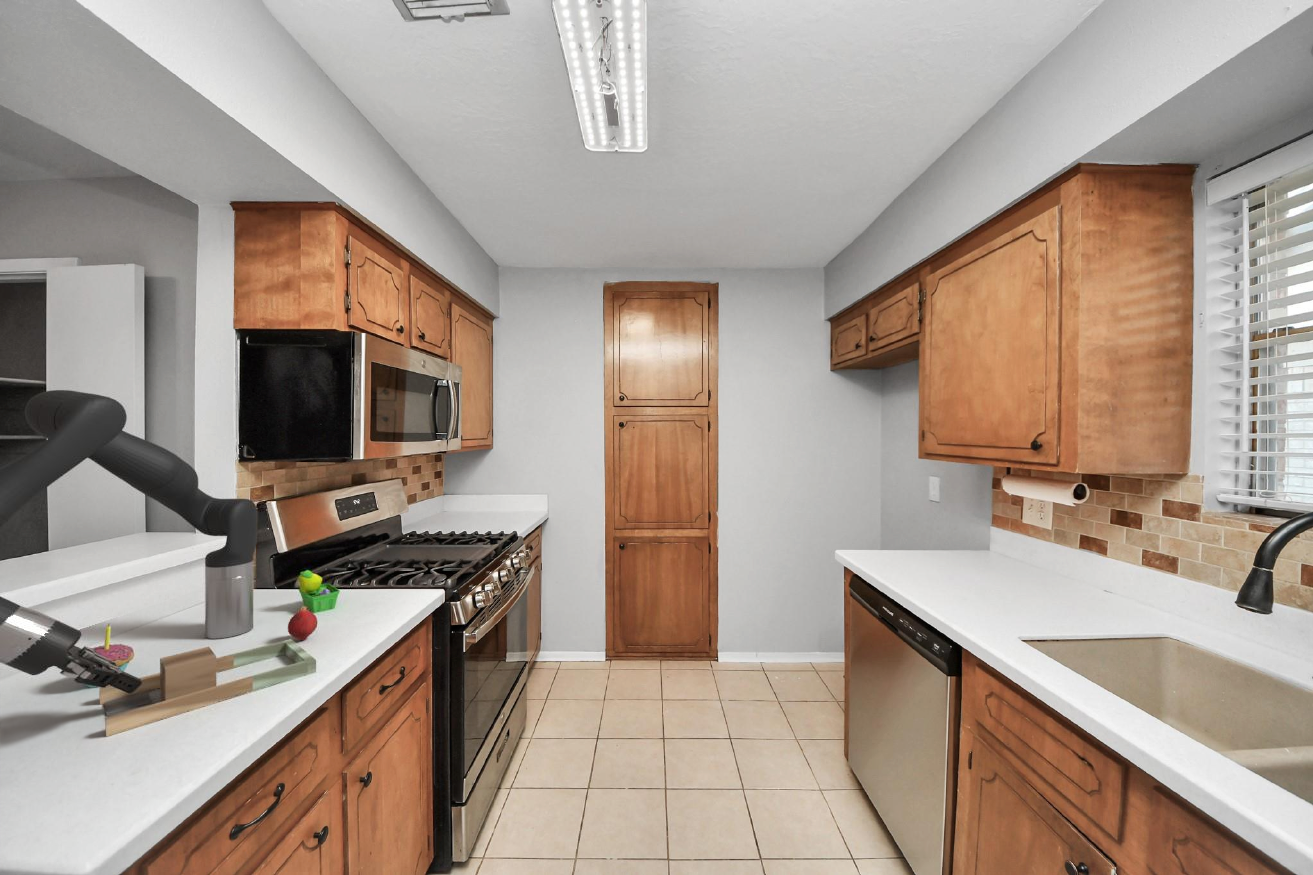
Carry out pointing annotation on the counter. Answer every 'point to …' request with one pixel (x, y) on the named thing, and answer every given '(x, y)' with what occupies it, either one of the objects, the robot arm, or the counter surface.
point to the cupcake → (115, 652)
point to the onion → (302, 624)
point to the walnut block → (187, 673)
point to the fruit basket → (316, 592)
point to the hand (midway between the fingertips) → (136, 686)
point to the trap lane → (139, 710)
